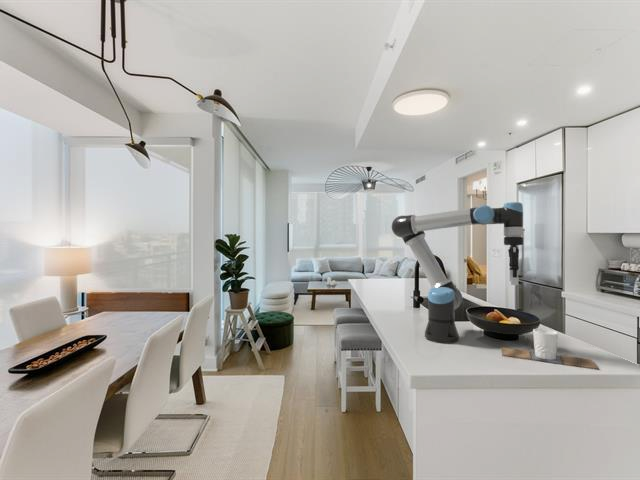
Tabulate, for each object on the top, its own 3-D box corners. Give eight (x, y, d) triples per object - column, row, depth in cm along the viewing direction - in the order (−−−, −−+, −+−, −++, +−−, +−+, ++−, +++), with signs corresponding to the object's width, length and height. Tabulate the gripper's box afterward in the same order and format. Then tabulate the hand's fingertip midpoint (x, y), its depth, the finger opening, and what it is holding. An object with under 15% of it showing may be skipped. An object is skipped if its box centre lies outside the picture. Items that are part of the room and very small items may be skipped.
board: (502, 355, 127) (502, 354, 127) (501, 348, 136) (501, 347, 136) (598, 369, 113) (598, 368, 113) (590, 360, 121) (590, 359, 121)
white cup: (550, 362, 119) (550, 335, 119) (529, 355, 126) (528, 330, 126) (562, 358, 122) (561, 332, 122) (540, 351, 129) (540, 327, 129)
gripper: (525, 236, 132) (526, 287, 132) (520, 236, 154) (521, 280, 154) (504, 236, 135) (505, 285, 135) (503, 236, 157) (503, 279, 157)
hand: (513, 283), depth 145 cm, fingers open, 13 cm apart
